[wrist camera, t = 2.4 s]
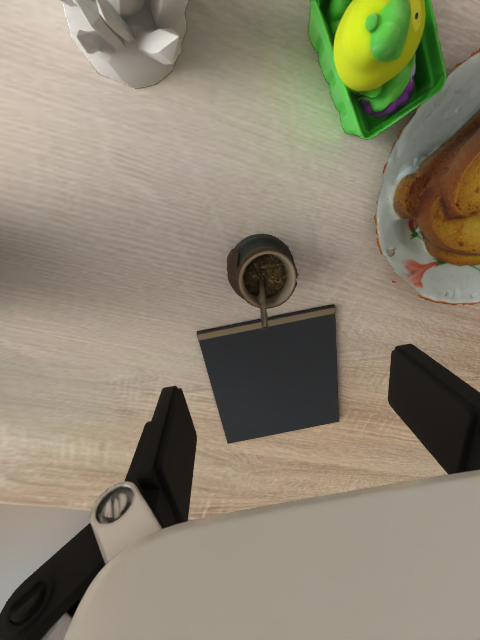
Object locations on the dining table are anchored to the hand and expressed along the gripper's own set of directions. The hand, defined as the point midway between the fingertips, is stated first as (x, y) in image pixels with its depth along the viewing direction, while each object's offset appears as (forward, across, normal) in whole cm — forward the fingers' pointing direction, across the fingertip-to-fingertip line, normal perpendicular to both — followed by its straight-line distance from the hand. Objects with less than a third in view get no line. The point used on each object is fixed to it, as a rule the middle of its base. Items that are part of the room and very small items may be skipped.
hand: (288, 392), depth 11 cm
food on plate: (+22, -28, -5) cm, 36 cm away
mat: (+22, -2, +16) cm, 27 cm away
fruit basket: (+22, -12, -17) cm, 30 cm away
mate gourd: (+22, -1, -1) cm, 22 cm away
